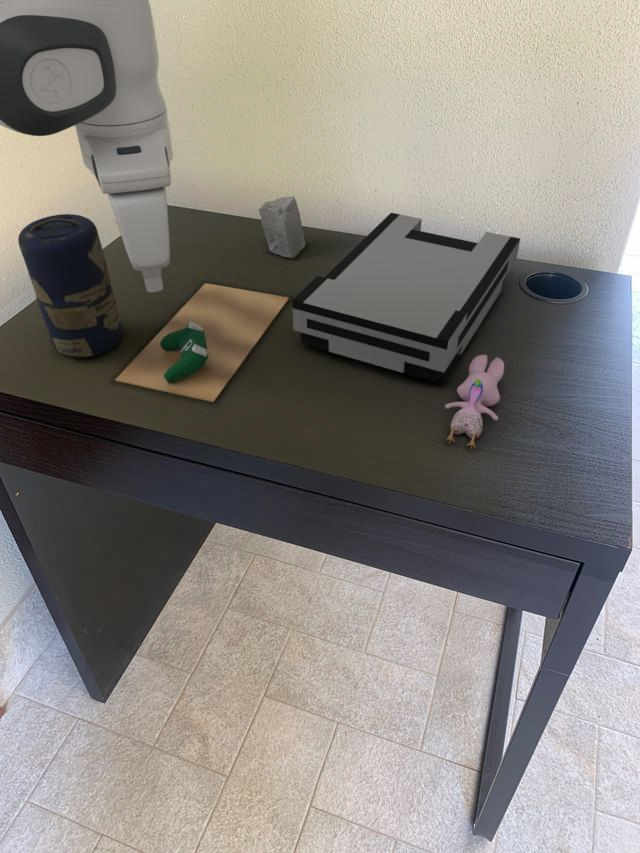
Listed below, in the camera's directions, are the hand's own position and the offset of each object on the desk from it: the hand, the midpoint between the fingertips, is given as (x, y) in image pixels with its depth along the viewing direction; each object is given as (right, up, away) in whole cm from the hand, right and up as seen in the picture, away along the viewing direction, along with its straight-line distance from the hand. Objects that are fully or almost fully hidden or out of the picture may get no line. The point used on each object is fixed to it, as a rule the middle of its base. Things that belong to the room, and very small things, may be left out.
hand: (149, 268), depth 77 cm
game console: (+32, -2, +22) cm, 39 cm away
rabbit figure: (+38, -16, +6) cm, 42 cm away
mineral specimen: (+13, +12, +38) cm, 42 cm away
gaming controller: (+1, -10, +14) cm, 17 cm away
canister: (-13, -6, +18) cm, 23 cm away
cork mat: (+4, -5, +18) cm, 20 cm away
